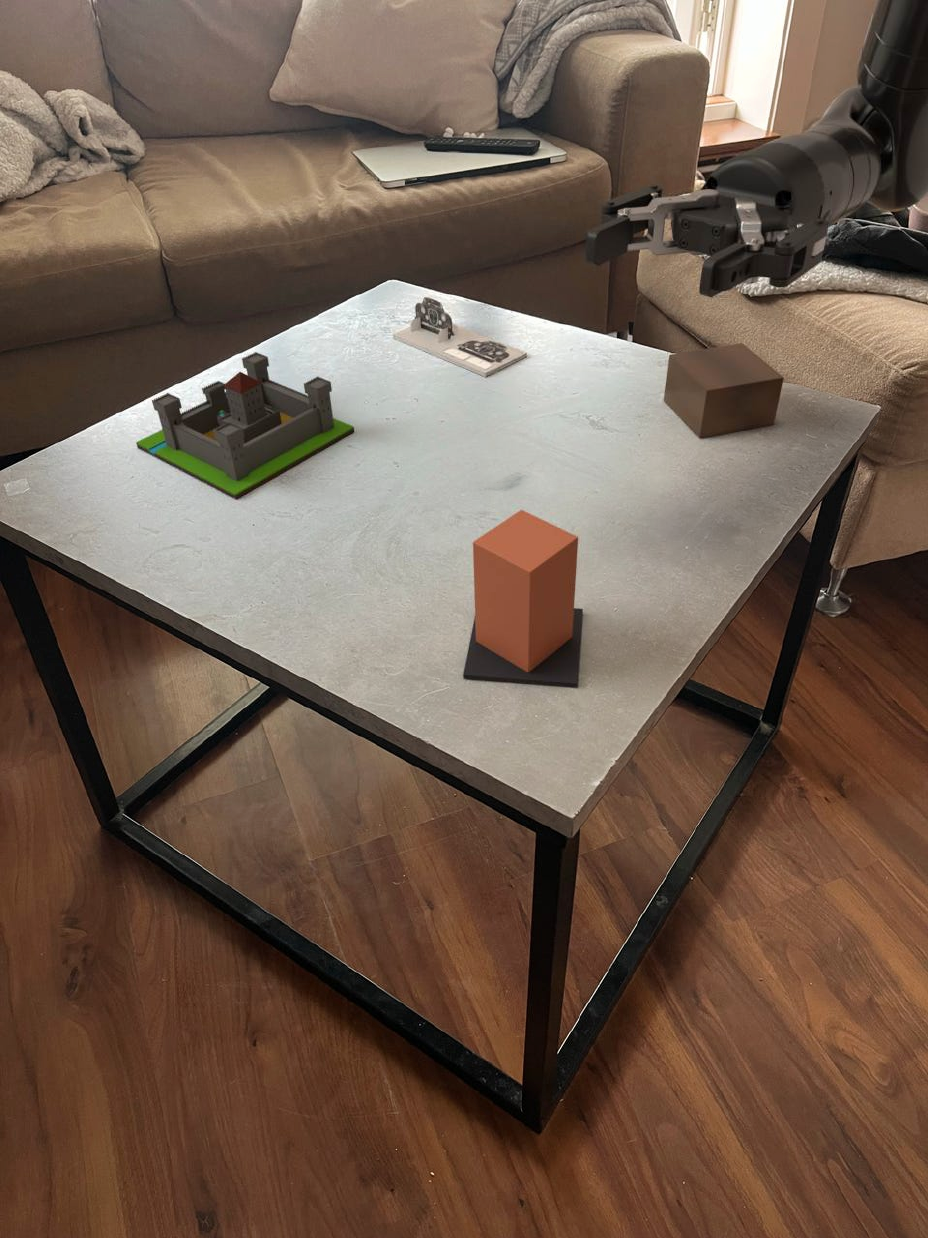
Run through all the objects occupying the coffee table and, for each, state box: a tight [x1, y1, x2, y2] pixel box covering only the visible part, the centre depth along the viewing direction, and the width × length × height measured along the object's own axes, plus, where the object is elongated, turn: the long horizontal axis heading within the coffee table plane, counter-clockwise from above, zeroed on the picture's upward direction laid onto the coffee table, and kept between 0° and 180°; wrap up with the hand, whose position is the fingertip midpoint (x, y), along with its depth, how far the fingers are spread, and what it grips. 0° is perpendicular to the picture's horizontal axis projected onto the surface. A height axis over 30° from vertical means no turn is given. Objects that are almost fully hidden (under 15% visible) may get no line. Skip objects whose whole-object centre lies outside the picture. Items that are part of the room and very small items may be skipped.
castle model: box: [135, 351, 355, 500], centre depth 89 cm, size 15×15×7 cm
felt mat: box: [462, 607, 584, 688], centre depth 67 cm, size 8×8×1 cm
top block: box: [472, 509, 579, 673], centre depth 64 cm, size 5×5×9 cm
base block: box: [663, 342, 785, 439], centre depth 91 cm, size 8×8×5 cm
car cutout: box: [392, 296, 528, 378], centre depth 104 cm, size 15×7×4 cm, turn 45°
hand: (646, 264), depth 57 cm, fingers open, 8 cm apart
